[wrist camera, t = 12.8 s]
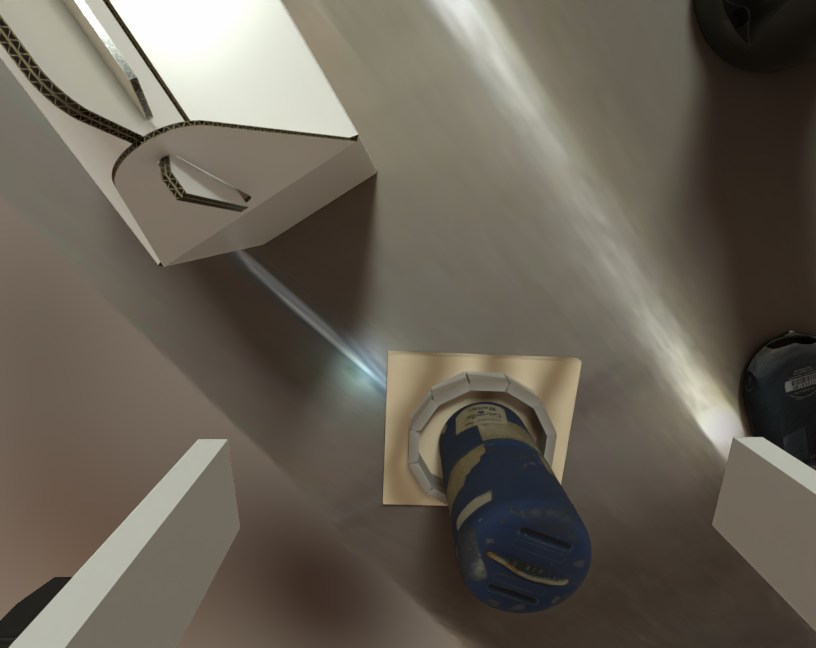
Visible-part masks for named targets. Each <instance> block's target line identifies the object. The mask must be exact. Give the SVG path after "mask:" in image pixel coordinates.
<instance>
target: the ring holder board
mask: <svg viewBox="0 0 816 648" xmlns="http://www.w3.org/2000/svg"><path fill="white" fill-rule="evenodd" d="M581 363H582V362H581V361H580V360H579V359H578V358H570V357H544V356H517V355H490V354H463V353H437V352H410V351H388V372H387V401H386V429H385V458H384V487H383V504H397V505H436V506H448V502H447V499H446V494H445V488H444V481H443V474H442V466H441V457H440V451H439V440H440V435H441V431H442V429H443V427H444V425H445V423H446V422H447V420H448V419H449V418H450V417H451V416H452V415H453V414H454V413H455V412H456V411H458V410H459V409H461V408H463V407H465V406H467V405H469V404H472V403H477V402H494V403H497V404H501V405H503V406H505V407H507V408H509V409H511V410H512V411H513V412H515V413H516V414H517V415H518V416H519V417H520V419H521V420H522V421H523V423H524V424H525V426H526V428H527V430H528V431H529V433H530V435H531V436H532V438H533V439H534V441H535V443H536V445H537V446H538V448H539V449H540V451H541V453H542V455H543V457H544V458H545V459H546V461H547V462H548V464H549V465H550V467H551V469H552V470H553V472H554V474H555V476H556V478H557V479H558V481H559V483H560V484H561V481H562V475H563V469H564V463H565V457H566V451H567V446H568V440H569V434H570V428H571V422H572V416H573V410H574V404H575V398H576V393H577V387H578V381H579V375H580V369H581Z"/></svg>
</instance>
